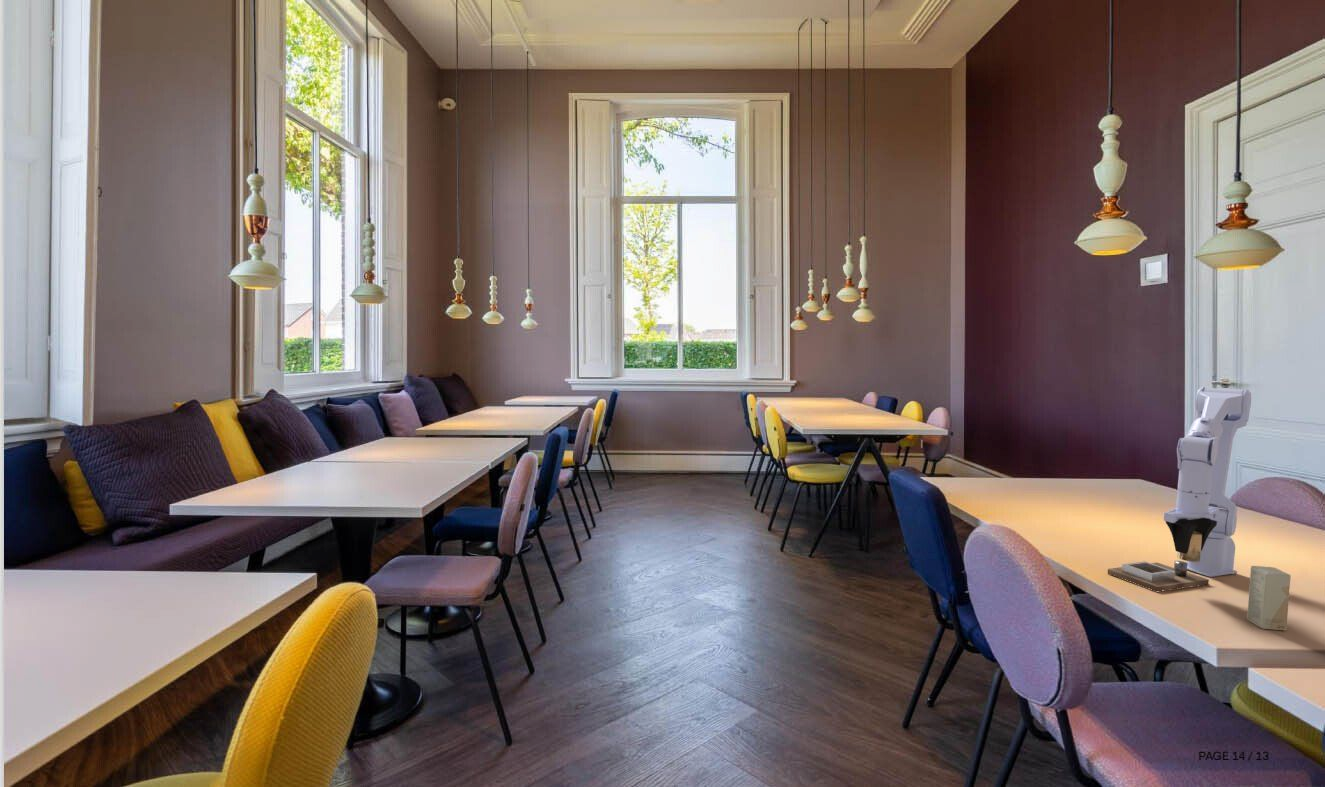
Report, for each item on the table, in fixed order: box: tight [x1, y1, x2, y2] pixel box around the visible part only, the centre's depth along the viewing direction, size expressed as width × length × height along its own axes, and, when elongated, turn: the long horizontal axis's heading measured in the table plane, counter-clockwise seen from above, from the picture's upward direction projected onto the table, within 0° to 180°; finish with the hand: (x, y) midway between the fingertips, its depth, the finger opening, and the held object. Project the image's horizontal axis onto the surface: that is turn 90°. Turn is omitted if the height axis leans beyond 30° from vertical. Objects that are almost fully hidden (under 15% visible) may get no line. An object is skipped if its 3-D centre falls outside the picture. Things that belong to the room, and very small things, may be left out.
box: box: [1246, 565, 1292, 631], centre depth 138 cm, size 5×4×11 cm
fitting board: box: [1107, 560, 1209, 592], centre depth 164 cm, size 16×12×4 cm
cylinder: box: [1176, 531, 1202, 562], centre depth 156 cm, size 4×4×6 cm
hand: (1188, 551), depth 157 cm, fingers closed on cylinder, 4 cm apart
